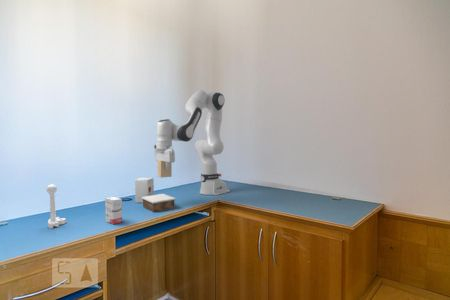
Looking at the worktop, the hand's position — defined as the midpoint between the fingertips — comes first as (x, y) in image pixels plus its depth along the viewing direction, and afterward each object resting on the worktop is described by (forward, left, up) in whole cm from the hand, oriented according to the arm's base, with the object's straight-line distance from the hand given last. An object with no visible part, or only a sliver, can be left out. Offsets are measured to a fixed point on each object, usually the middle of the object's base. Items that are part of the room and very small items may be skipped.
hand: (164, 169), depth 176 cm
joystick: (+58, -2, -22) cm, 62 cm away
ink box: (+35, +12, -23) cm, 43 cm away
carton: (0, 0, -5) cm, 5 cm away
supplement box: (+6, -18, -23) cm, 29 cm away
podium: (+6, +2, -22) cm, 23 cm away
